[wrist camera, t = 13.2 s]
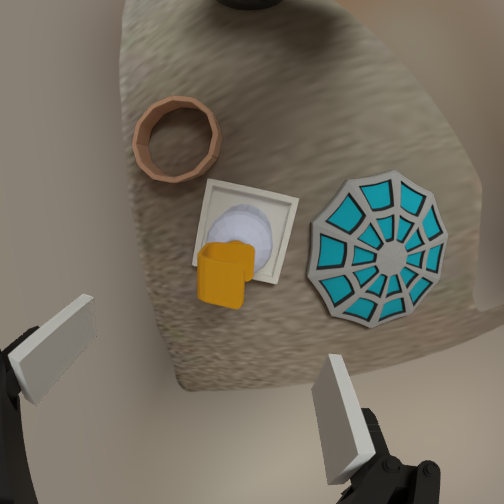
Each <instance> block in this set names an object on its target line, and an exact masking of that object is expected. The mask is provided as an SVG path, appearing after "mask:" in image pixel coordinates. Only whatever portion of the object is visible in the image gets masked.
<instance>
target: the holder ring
mask: <svg viewBox="0 0 504 504" xmlns="http://www.w3.org/2000/svg"><path fill="white" fill-rule="evenodd" d="M180 107H184V108H193V109H199V110H200V111H202V112H203V113H204V114H205V115H207V116H208V119H209V122H210V125H211V128H212V131H213V135H212V139H211V144H210V148H209V152H208V155H207V156H206V157H205V158H204V159H203V160H202V161H201V163H200V164H199V165H198V166H197V167H196V168H195V170H193V171H191V172H188V173H185V174H183V175H180V176H178V177H176V176H171V175H165V174H164V173H163V172H162V171H161V170H160V169H159V168H158V167H157V166H155V165H154V164H153V162H152V159H151V155H150V152H149V149H148V144H149V139H150V135H151V130H152V128H153V127H154V126H155V124H156V123H157V122H158V121H159V120H160V118H161V117H162V116H163V115H164V114H166V113H168V112H171V111H173V110H175V109H178V108H180ZM222 140H223V135H222V132H221V129H220V126H219V123H218V120H217V118H216V116H215V115H214V114H213V113H212V111H211V110H209V109H208V108H207V107H206V106H204V105H203V104H202V103H201V102H199V101H198V100H197V99H195V98H194V97H184V96H170V97H168V98H165V99H163V100H161V101H158V102H156V103H154V104H152V106H150V107H149V108H148V109H147V110H146V112H145V113H144V114H143V115H142V117H141V118H140V119H139V120H138V122H137V123H136V127H135V132H134V136H133V141H132V144H133V145H132V148H133V151H134V155H135V158H136V162H137V165H138V166H139V167H140V168H141V169H142V170H143V171H144V172H146V173H147V174H148V175H149V176H150V177H151V178H152V179H154V180H160V181H166V182H171V183H180V182H186V181H189V180H191V179H194V178H197V177H199V176H202V175H204V174H205V173H206V172H207V170H208V169H209V168H210V167H211V166H212V165H213V164H214V163H215V161H216V160H217V159H218V157H219V153H220V148H221V144H222Z"/></svg>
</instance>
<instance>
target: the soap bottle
mask: <svg viewBox="0 0 504 504" xmlns="http://www.w3.org/2000/svg"><path fill="white" fill-rule="evenodd" d="M272 249H273V240H272V232H271V226H270V222H269V220H268V218H267V216H266V215H265V214H264V213H263V212H262V211H261V210H260V209H258V208H256V207H254V206H251V205H243V204H240V205H237V206H233V207H231V208H230V209H228V210H227V211H226V212H224V213H223V214H222V215H221V216H220V217H219V218H217V219H216V220H215V221H214V223H213V224H212V226H211V227H210V229H209V231H208V234H207V239H206V244H205V245H204V246H203V248H202V249H201V250H200V251H199V252H198V253H197V297H198V298H199V299H200V300H202V301H204V302H207V303H212V304H216V305H220V306H224V307H228V308H233V309H238V308H240V307H241V306H242V305H243V303H244V289H245V281H246V282H248V281H250V280H251V279H252V278H253V276H254V273H256V272H257V271H259V270H260V269H261V268H263V267H264V266H265V264H266V263H267V262H268V260H269V259H270V257H271V253H272Z"/></svg>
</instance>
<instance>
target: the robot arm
mask: <svg viewBox="0 0 504 504" xmlns="http://www.w3.org/2000/svg"><path fill="white" fill-rule="evenodd" d="M218 1H219V2H221V3H222V4H224V5H226V6H228V7H231V8H235V9H241V10H257V9H263V8H268V7H271V6H273V5H276V4H277V3H279V2H281V1H282V0H218ZM96 337H97V336H96V323H95V308H94V297H92V296H89V295H86V294H82V295H81V296H80V297H78V298H77V299H76V300H75V301H73V302H72V303H71V304H69V305H68V306H67V307H65V308H64V309H63V310H61V311H60V312H59V313H58V314H56V315H55V316H54V317H52V318H51V319H50V320H49V321H47V322H46V323H45V324H44V325H43V326H41V327H38V326H36V327H33V328H30V329H28V330H27V331H26V332H25V333H23V335H21V336H20V337H19V338H18V339H16V340H15V341H14V342H13V343H11V344H10V345H9V346H8V347H7V348H5V349H4V350H3V351H2V352H1V350H0V504H38V501H37V498H36V494H35V491H34V487H33V483H32V480H31V475H30V471H29V467H28V462H27V457H26V451H25V445H24V439H23V431H22V422H21V411H20V398H19V395H18V394H19V393H20V392H21V391H22V393H23V395H24V397H25V399H26V400H28V401H30V402H31V403H32V404H34V405H35V406H37V404H38V403H39V402H40V401H41V400H42V398H43V397H44V396H45V395H46V393H47V392H48V391H49V390H50V389H51V388H52V386H53V385H54V384H55V383H56V382H57V381H58V379H59V378H60V377H61V376H62V375H63V374H64V372H65V371H66V370H67V369H68V368H69V367H70V366H71V364H72V363H73V362H74V361H75V360H76V359H77V358H78V357H79V355H80V354H81V353H82V352H83V351H84V350H85V349H86V348H87V346H88V345H89V344H90V343H91V342H92V341H93V340H94V339H95V338H96ZM312 395H313V401H314V406H315V411H316V416H317V422H318V428H319V434H320V439H321V446H322V451H323V457H324V464H325V470H326V476H327V483H328V485H338V484H344V483H345V482H347V481H348V480H349V479H350V480H351V486H350V487H348V488H347V489H346V490H345V491H343V492H342V493H341V494H342V497H341V498H340V499H339V501H338V502H337V503H336V504H439V493H440V468H439V467H438V465H437V464H436V463H435V462H433V461H430V460H429V461H428V460H426V461H423V462H421V463H420V464H419V465H418V466H409V465H403V464H402V463H401V462H400V460H399V459H398V458H396V457H395V456H391V455H390V453H389V451H388V448H387V445H386V443H385V440H384V437H383V435H382V432H381V429H380V427H379V425H378V421H377V419H376V416H375V415H374V414H373V412H372V411H371V410H370V409H369V408H360V405H359V402H358V400H357V397H356V394H355V391H354V388H353V386H352V383H351V380H350V378H349V375H348V372H347V370H346V367H345V364H344V362H343V359H342V357H341V355H335V354H328V355H327V357H326V360H325V362H324V364H323V366H322V368H321V371H320V373H319V375H318V377H317V379H316V381H315V383H314V385H313V387H312Z"/></svg>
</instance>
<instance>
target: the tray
mask: <svg viewBox="0 0 504 504" xmlns="http://www.w3.org/2000/svg"><path fill="white" fill-rule="evenodd" d="M298 201H299V198H297V197H293V196H289V195H285V194H281V193H277V192H272V191H268V190H264V189H259V188H255V187H250V186H246V185H241V184H236V183H231V182H227V181H222V180H217V179H211V178H208V180H207V185H206V189H205V194H204V200H203V205H202V210H201V215H200V221H199V226H198V232H197V238H196V243H195V249H194V255H193V262H192V265H193V266H197V253H198V252H199V251H200V250H201V249H202V248H203V246H204V245H205V244H206V239H207V234H208V231H209V229H210V227H211V226H212V224H213V223H214V221H215V220H216V219H217V218H219V217H220V216H221V215H222V214H223V213H224V212H226V211H227V210H228V209H230V208H231V207H233V206H237V205H240V204H243V205H251V206H254V207H256V208H258V209H260V210H261V211H262V212H263V213H264V214H265V215H266V216H267V218H268V220H269V222H270V226H271V232H272V240H273V249H272V253H271V257H270V259H269V260H268V262H267V263H266V264H265V266H264V267H263V268H261V269H260V270H259V271H257V272H256V273H254V276H253V278H252V279H254V280H259V281H263V282H268V283H272V284H277V283H278V279H279V275H280V272H281V268H282V264H283V260H284V257H285V253H286V249H287V245H288V241H289V237H290V233H291V229H292V226H293V222H294V218H295V214H296V210H297V205H298Z"/></svg>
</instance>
